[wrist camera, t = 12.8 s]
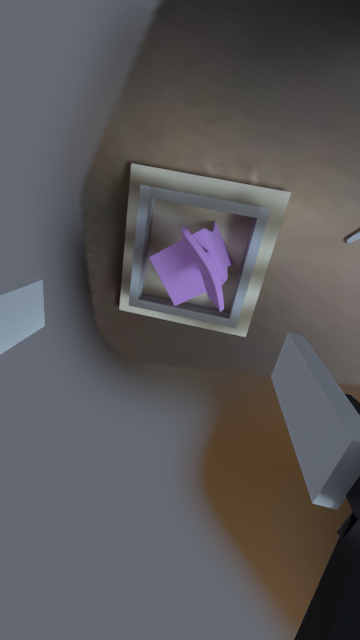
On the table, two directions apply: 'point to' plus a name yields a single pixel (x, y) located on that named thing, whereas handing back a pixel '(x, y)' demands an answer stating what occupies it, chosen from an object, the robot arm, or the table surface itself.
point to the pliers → (353, 237)
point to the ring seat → (195, 214)
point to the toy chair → (194, 266)
